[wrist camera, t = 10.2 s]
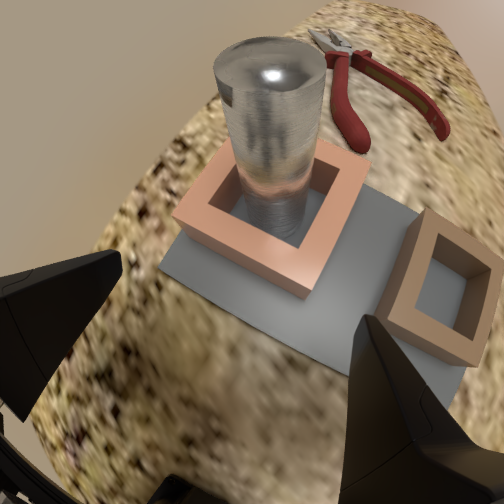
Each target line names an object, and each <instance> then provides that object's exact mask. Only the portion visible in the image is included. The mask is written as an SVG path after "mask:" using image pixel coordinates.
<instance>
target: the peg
mask: <svg viewBox="0 0 504 504" xmlns="http://www.w3.org/2000/svg"><path fill="white" fill-rule="evenodd" d="M213 69H214V74H215V78H216V82H217V86H218V90H219V94H220V98H221V103H222V107H223V111H224V115H225V119H226V123H227V127H228V132H229V136H230V140H231V144H232V148H233V152H234V156H235V161H236V165H237V169H238V173H239V177H240V182H241V186H242V190H243V194H244V198H245V203H246V207H247V211H248V215H249V220H250V223H251V225H252V226H254V227H256V228H258V229H260V230H262V231H264V232H266V233H268V234H270V235H272V236H274V237H276V238H278V239H282V238H286V237H289V236H291V235H292V234H294V233H295V232H296V231H297V230H298V229H299V228H300V226H301V225H302V223H303V220H304V215H305V209H306V204H307V198H308V192H309V187H310V181H311V175H312V169H313V163H314V157H315V150H316V144H317V137H318V131H319V124H320V117H321V110H322V102H323V94H324V87H325V78H326V70H327V63H326V60H325V57H324V56H323V55H322V53H321V52H320V51H318V50H317V49H316V48H314V47H313V46H311V45H309V44H307V43H305V42H302V41H299V40H296V39H291V38H286V37H274V36H273V37H257V38H252V39H247V40H244V41H241V42H238V43H236V44H234V45H231V46H230V47H228V48H226V49H225V50H223V52H221V53H220V54H219V55H218V56H217V58H216V60H215V62H214V66H213Z"/></svg>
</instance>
